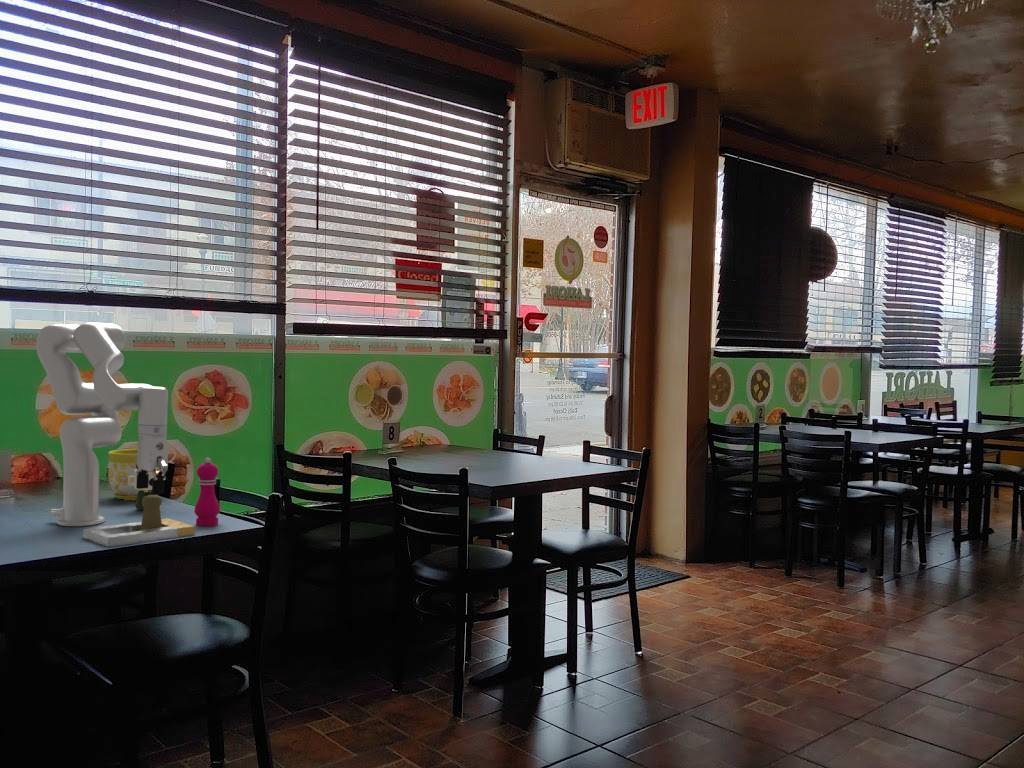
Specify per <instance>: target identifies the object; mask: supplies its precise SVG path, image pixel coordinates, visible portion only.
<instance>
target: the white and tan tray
mask: <svg viewBox="0 0 1024 768" xmlns="http://www.w3.org/2000/svg"><path fill="white" fill-rule="evenodd" d="M161 522H162V527H161V528H153V529H146V530H143V531H141V524H142V521H136V522H130V523H129V522H128V523H120V524H111V525H106V526H105V525H103V526H96V527H89V528H88V527H87V528H83V534H82V535H83V537H84V538H83V539H86V538H87V539H86V540H88V539H89V540H88V541H91V540H92V542H94V543H96V542H97V543H96V544H99V543H100V544H99V545H101V544H102V546H104V545H105V546H104V547H107V546H108V547H107V548H110V547H109V546H111V547H116V546H117V545H118V546H124V545H125V546H126V545H130V544H131V545H132V544H137V543H138V544H139V543H145V542H152V541H158V540H168V539H175V538H181V537H187V536H195V533H196V532H195V531H196V530H195V528H196V527H195V525H192V524H189V523H185V522H181V521H179V520H175V519H172V518H161Z"/></svg>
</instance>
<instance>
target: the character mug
mask: <svg viewBox="0 0 1024 768" xmlns="http://www.w3.org/2000/svg"><path fill="white" fill-rule="evenodd" d="M136 471H137V469H136V470H134V476H128V486H134V487H135V489H137V488H136V484H137V475H139V474H136ZM147 474H149V481H148V488H142V489H137V490H139V492H138V494H137V499H136V500H135V508H136V509H137V510H140V509H142V510H144V507H143V506H142V499H143V497H145V496H148V495H155V494H152V480H154V477H153V474H152V472H148V473H147ZM156 474H158V473H156ZM131 479H134V483H131Z"/></svg>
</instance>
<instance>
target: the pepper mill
mask: <svg viewBox="0 0 1024 768" xmlns="http://www.w3.org/2000/svg"><path fill="white" fill-rule="evenodd" d="M211 460H212V459H211V458H209V457H206V458H204V463H202V464H200V465H199V466H198V467H197V468H196V469H197V470H196V475H197V477H199V479H198V485H199V486H200V487H199V490H200V492H199V496H198V499H197V501H196V503H195V505H194V514H195V515H196V516H197V518H195V525H196V526H198V527H212V526H214V527H215V526H217V525H218V524H219V518H218V517H217V516H218V515H219V514H220V511H221V506H220V503H219V501H218V498H217V497H216V493H215V485H217V478H216V477H217V476H218V474H219V469H218V466H217V465H216V464H215V463H212V462H211Z"/></svg>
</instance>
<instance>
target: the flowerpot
mask: <svg viewBox="0 0 1024 768" xmlns="http://www.w3.org/2000/svg"><path fill="white" fill-rule="evenodd" d="M107 455H108V456H109V460H108V461H109V465H108V476H107V477H108V481H109V485H110V487H111V488H112V490H113V491H114V492H115V493H114V494H113V496H114V497H116V499H117V498H118V499H117V500H119V499H125V500H124V501H129V500H132V501H136V499H137V494H138V492H139V490H137V489H135V487H134V486H128V476H134V470H136V469H137V468H136V457H137V448H124V449H114V450H113V449H112V450H110V451H108V453H107ZM131 483H134V479H131ZM155 495H157V494H155Z"/></svg>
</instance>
